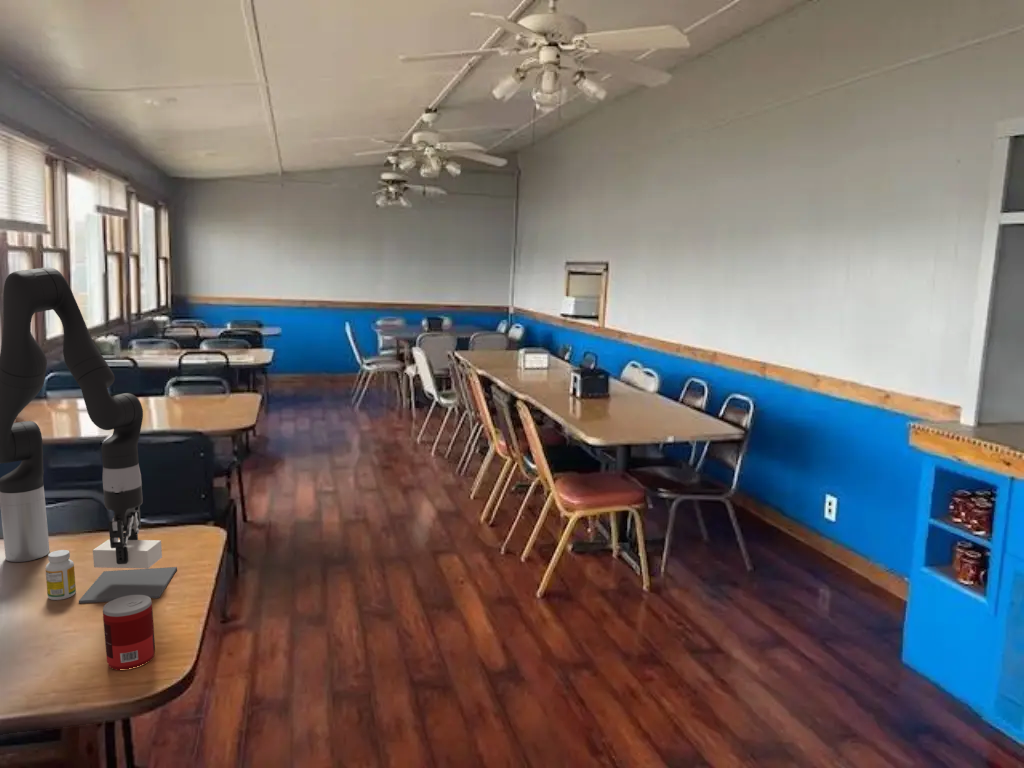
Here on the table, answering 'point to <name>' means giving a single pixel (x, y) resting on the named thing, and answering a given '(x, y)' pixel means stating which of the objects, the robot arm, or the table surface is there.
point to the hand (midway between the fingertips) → (127, 556)
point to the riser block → (129, 554)
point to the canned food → (129, 631)
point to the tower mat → (128, 584)
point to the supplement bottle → (60, 575)
